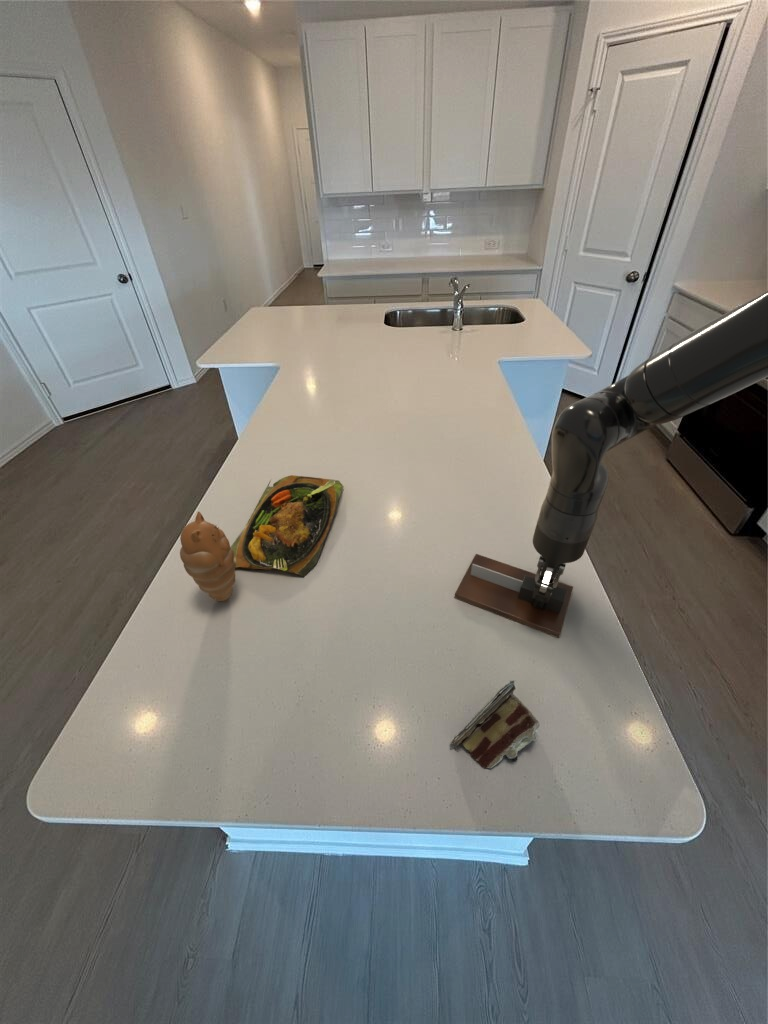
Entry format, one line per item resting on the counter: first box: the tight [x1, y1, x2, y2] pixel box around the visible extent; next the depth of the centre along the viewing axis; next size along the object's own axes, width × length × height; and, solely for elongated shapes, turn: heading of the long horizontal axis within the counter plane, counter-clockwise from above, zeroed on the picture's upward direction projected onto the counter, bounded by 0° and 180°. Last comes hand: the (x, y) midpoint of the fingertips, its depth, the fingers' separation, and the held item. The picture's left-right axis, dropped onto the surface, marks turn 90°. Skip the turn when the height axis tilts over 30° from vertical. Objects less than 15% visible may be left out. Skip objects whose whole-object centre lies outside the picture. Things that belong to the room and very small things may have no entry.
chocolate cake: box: [449, 679, 541, 769], centre depth 59 cm, size 10×7×12 cm
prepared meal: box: [230, 474, 344, 578], centre depth 93 cm, size 28×4×18 cm
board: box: [454, 553, 574, 639], centre depth 78 cm, size 18×11×1 cm, turn 62°
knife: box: [471, 564, 567, 613], centre depth 76 cm, size 16×3×3 cm, turn 62°
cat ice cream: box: [179, 511, 236, 602], centre depth 73 cm, size 9×8×18 cm
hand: (540, 598), depth 75 cm, fingers closed on knife, 3 cm apart
